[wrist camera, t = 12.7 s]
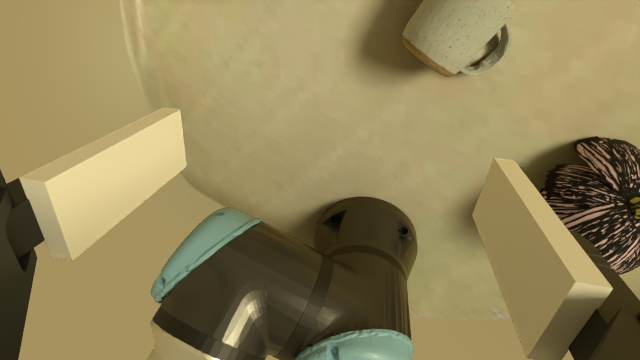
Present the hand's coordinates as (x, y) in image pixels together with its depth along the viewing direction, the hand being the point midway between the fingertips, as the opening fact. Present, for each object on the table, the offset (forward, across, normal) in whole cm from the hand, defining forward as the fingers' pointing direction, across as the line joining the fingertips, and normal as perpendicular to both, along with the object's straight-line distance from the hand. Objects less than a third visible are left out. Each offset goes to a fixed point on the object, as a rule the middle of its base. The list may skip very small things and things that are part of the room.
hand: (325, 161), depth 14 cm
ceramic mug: (+29, -9, -4) cm, 31 cm away
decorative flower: (+29, -29, +12) cm, 43 cm away
